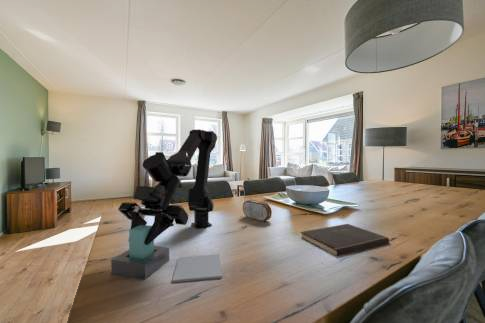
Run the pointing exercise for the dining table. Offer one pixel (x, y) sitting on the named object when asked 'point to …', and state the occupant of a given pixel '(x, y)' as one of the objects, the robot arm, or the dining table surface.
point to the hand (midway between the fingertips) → (137, 243)
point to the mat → (197, 268)
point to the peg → (140, 242)
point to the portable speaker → (257, 210)
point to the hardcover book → (344, 239)
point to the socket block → (139, 264)
